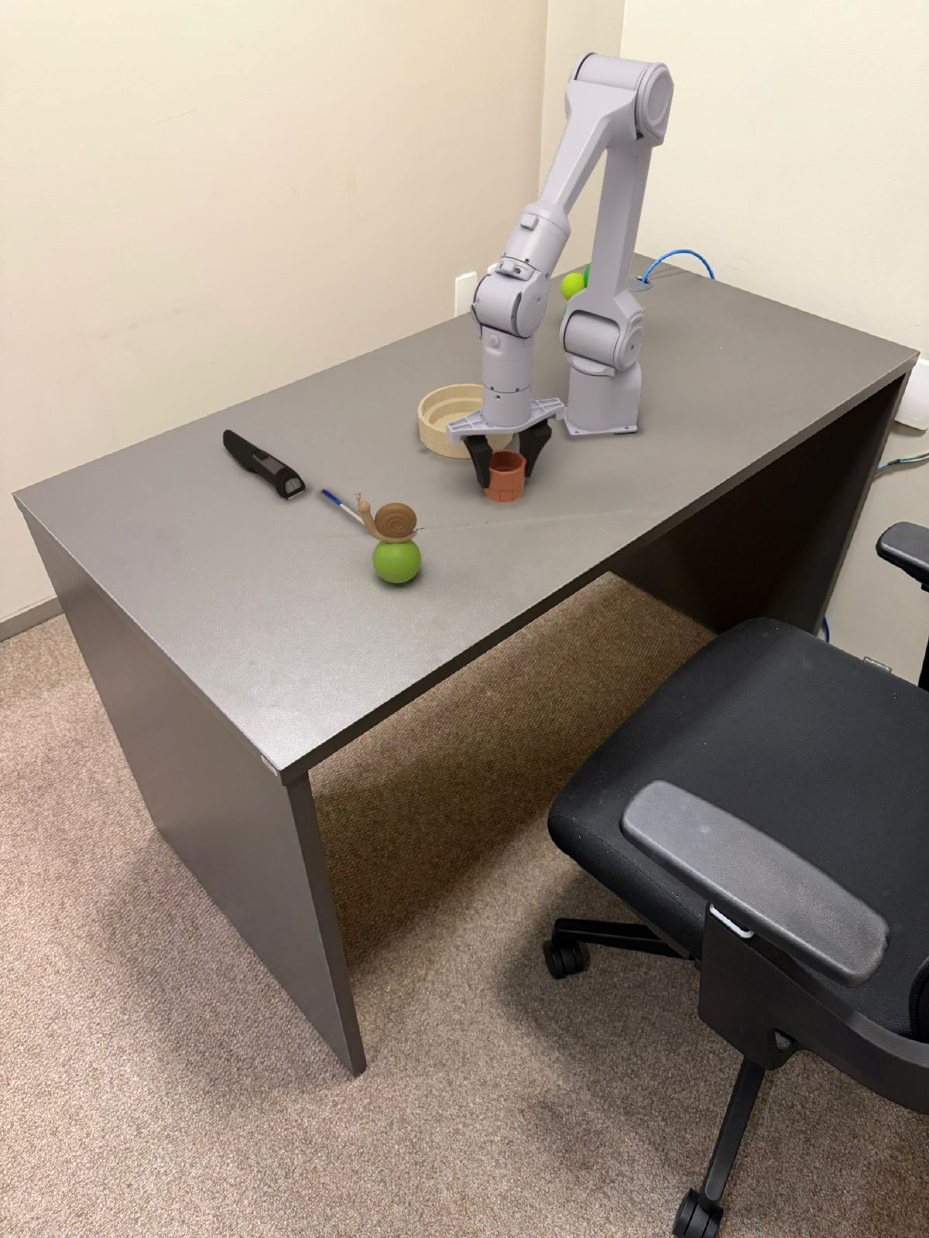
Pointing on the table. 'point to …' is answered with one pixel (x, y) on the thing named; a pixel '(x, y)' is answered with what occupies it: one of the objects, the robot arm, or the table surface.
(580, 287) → the molecule model
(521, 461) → the terracotta pot
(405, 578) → the snail figurine
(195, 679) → the table surface
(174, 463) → the table surface
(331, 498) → the ballpoint pen
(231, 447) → the electric trimmer
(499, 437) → the cream bowl
